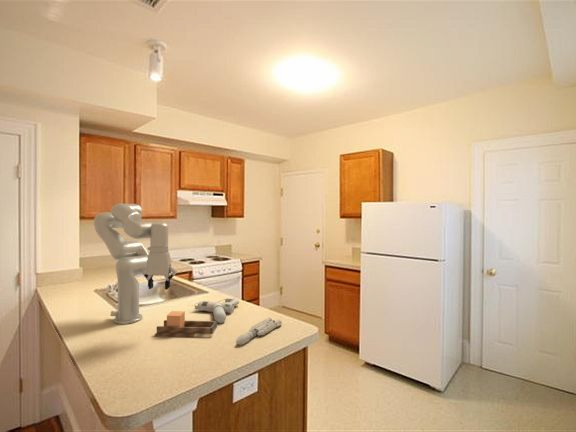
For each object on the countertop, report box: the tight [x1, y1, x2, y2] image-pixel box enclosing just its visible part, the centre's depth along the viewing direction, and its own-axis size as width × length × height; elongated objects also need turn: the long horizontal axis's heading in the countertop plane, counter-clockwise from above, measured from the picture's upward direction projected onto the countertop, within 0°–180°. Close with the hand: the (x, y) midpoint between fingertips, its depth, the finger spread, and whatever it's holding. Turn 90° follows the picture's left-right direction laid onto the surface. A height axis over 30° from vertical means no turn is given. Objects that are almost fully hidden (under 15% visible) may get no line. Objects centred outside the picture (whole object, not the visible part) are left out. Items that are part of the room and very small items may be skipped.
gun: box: [189, 298, 240, 324], centre depth 168 cm, size 6×29×30 cm
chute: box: [154, 319, 219, 338], centre depth 141 cm, size 25×12×4 cm, turn 89°
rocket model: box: [235, 317, 282, 346], centre depth 140 cm, size 9×4×30 cm
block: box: [166, 310, 186, 327], centre depth 141 cm, size 6×6×7 cm
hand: (159, 288), depth 141 cm, fingers open, 6 cm apart
